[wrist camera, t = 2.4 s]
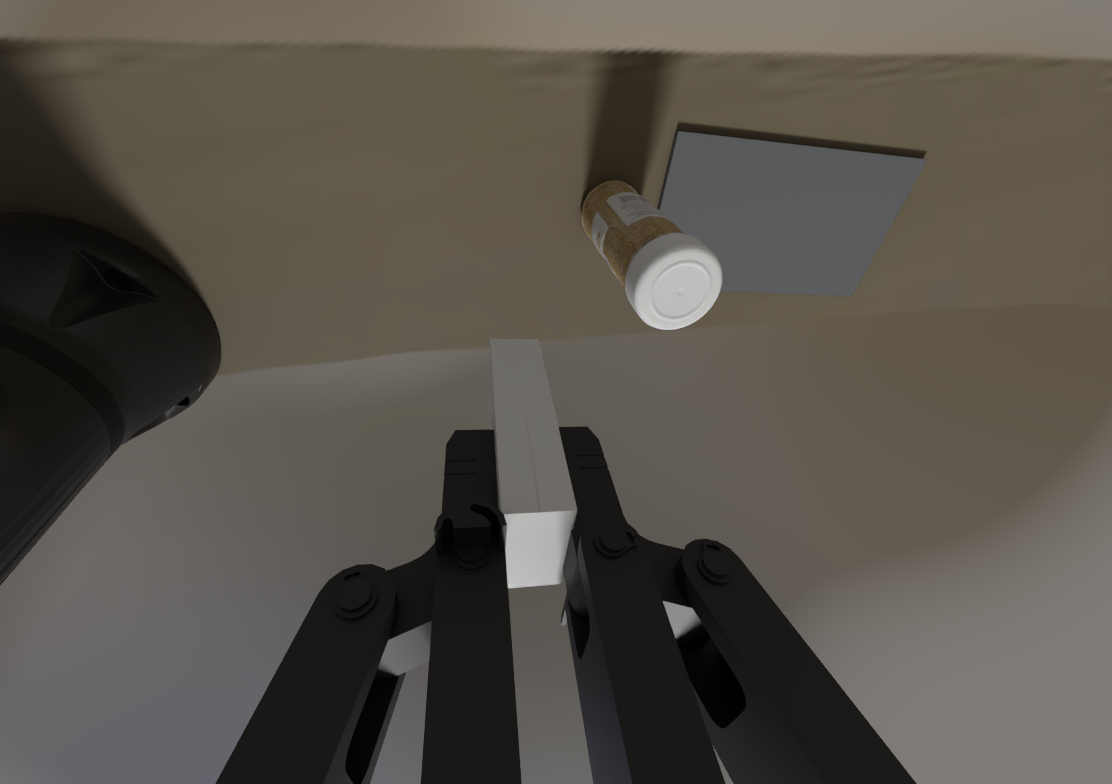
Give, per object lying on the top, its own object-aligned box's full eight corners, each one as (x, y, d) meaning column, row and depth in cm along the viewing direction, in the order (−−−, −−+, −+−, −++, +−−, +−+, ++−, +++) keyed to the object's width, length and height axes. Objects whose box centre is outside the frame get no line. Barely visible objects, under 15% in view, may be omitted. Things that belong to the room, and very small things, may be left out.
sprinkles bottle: (568, 226, 32) (617, 312, 21) (602, 165, 30) (675, 227, 19) (618, 253, 34) (685, 345, 23) (653, 198, 32) (745, 272, 21)
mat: (639, 285, 36) (640, 287, 35) (676, 130, 29) (678, 131, 29) (848, 294, 40) (851, 295, 39) (923, 158, 33) (927, 159, 33)
